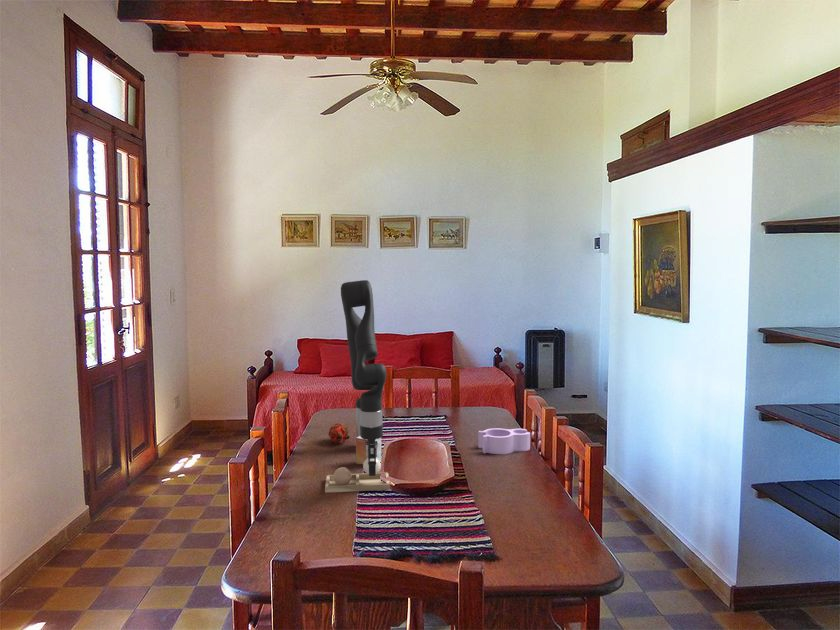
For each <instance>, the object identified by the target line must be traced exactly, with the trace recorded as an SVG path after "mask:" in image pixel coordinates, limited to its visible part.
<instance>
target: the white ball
mask: <svg viewBox="0 0 840 630" xmlns="http://www.w3.org/2000/svg"><path fill="white" fill-rule="evenodd" d="M370 461H374V459H370ZM362 468H363V471H364V473H367V474H369V464H368V458H367V459H366V460H365V461H364V463H363V464H362ZM381 468H382V462H381V463H380V461H379V459H378V458H376V474H377V473H380V472H381Z"/></svg>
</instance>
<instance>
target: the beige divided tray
mask: <svg viewBox="0 0 840 630" xmlns="http://www.w3.org/2000/svg"><path fill="white" fill-rule="evenodd" d="M381 474H385V476H386V478H387V477H389V471H388V472H387V471H385V472H383V471H382V472H381V471H380V472H378V473H377V474H376V475H375V476H369V474H367V473H366V472H363V473H362V472H361V473H351V475H352V477H351V481H350V482H349V483H348V484H347V485H342V486H340V485H338V484H336V483H335V481H334V474H327V475H326V479H325V487H324V492H325V494H327V493H344V492H345V493H346V492H348V493H349V492H367V491H386V490H387V491H388V490H391V485H390V480H389V481H387V480H386V483H384V482H383V481H381V480H380V475H381ZM389 478H390V477H389Z"/></svg>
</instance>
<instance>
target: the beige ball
mask: <svg viewBox="0 0 840 630" xmlns="http://www.w3.org/2000/svg"><path fill="white" fill-rule="evenodd" d="M351 474H352V472H351V471H350V469H348V467H344V466H342V467H339V468H337V469H336V470H335V471H334V473H333V475H334V481H335V483H336V484H338V485H340V486H342V485H347V484H348V483H349V482H350V481H351V477H352V475H351Z"/></svg>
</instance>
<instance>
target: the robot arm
mask: <svg viewBox="0 0 840 630" xmlns="http://www.w3.org/2000/svg"><path fill="white" fill-rule="evenodd" d="M340 297H341V302H342V303H341V304H342V308H343V312H344V313H343V315H344V319H345V326H346V329H345V330H346V339H347V345H348V352H349V358H350V374H351V375H350V376H351V386H352V388H353V389H354V390H356V391H364V392H362V393H361V395H360V397H359V398H357V399H356V401H355V420H356V424H355V426H356V427H355V428H356V429H355V430H356V438H357V437H359V436H361V438H363V439H367V440H368V441H366V449H367V458H368V464H369V476H375V475H376V457H377V448H378V443H377V441H375V440H376V439H379V438H381V439H382V437H383V435H384V433H383V431H384V427H383V425H384V423H383V421H384V420H383V412H382V410H383V409H382V408H383V407H382V404H383V403H382V397H383V391H384V387H385V383H386V381H387V372H388V371H387V368H386V367H385V365H384V364H383V363H376V362H375V363H365V362H369V361H372V360H374V359H376V358H377V356H378V354H379V353H378V346H377V339H376V332H375V309H374V295H373V288H372V285H371V282H370V281H369V280H367V279H364V280H355V281H346V282H343V283H342V284H341V286H340ZM358 307H364V313H363V316H362V318H361V317H360V316H359V315H358V314H357V313H356V311H355V310H354V308H358ZM370 459H374V461H370Z"/></svg>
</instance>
